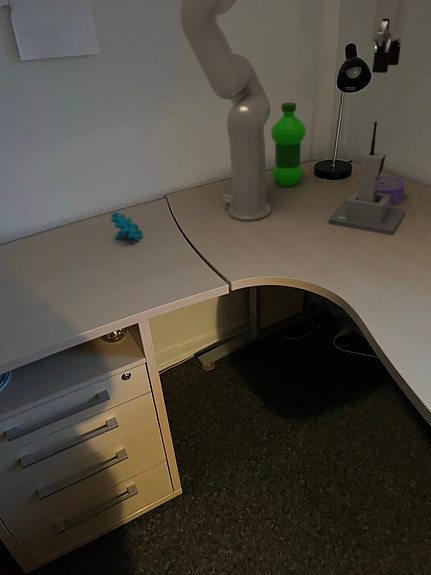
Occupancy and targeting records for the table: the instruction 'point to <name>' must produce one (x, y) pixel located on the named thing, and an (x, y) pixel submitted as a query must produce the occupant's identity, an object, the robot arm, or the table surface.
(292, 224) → the table surface
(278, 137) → the plastic bottle
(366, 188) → the vintage mobile phone
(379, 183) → the tape roll
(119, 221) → the teal bumpy irregular piece
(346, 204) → the charging dock
